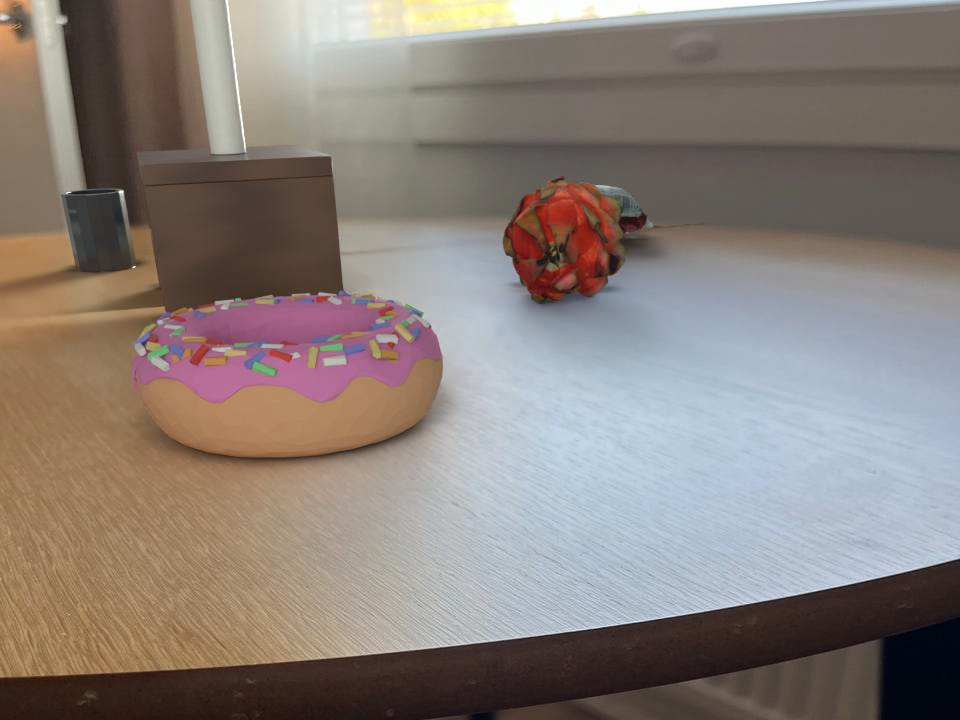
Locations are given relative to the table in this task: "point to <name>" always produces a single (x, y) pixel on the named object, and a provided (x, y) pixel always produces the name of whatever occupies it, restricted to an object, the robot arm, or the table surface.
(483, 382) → the table surface
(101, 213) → the pen cup
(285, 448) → the donut
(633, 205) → the packaged food
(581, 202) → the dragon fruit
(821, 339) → the table surface
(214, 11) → the marker
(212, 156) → the desk cabinet
